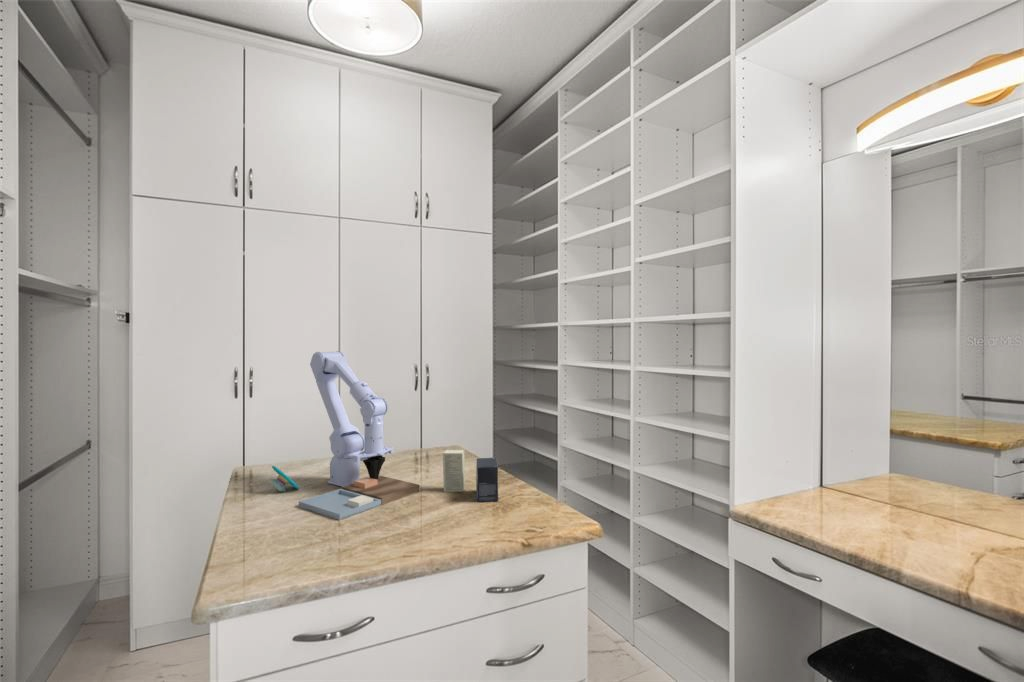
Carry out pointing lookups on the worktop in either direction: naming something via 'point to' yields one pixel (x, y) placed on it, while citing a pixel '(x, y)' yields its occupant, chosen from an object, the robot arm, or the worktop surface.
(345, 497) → the box
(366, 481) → the terracotta tile
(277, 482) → the ornament
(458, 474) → the skincare box
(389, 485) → the walnut board
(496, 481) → the small box
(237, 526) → the worktop surface
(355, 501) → the cream tile
